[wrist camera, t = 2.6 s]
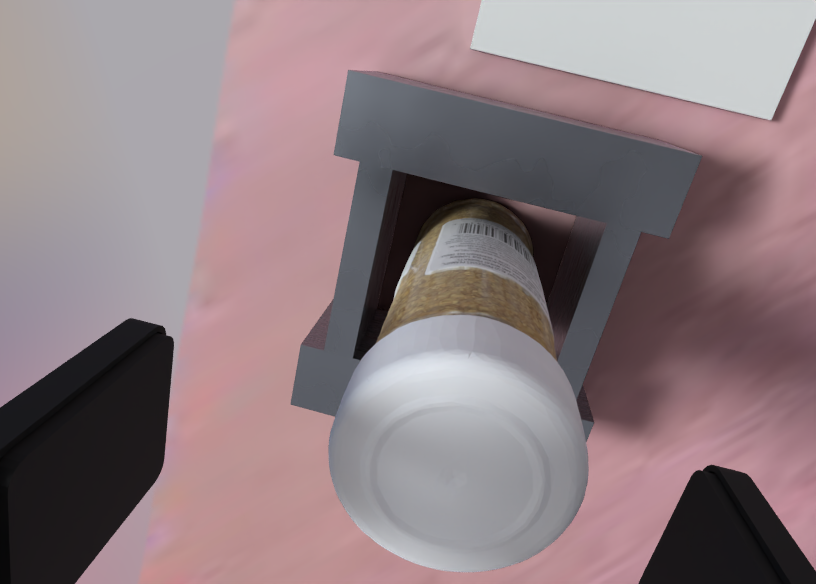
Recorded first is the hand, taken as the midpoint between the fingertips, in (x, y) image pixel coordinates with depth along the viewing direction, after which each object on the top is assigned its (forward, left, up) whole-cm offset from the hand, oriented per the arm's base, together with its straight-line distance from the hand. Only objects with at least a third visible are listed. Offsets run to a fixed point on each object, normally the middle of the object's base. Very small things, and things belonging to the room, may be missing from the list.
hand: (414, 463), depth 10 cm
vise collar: (-1, 0, -13) cm, 13 cm away
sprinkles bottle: (-1, 0, -13) cm, 13 cm away
